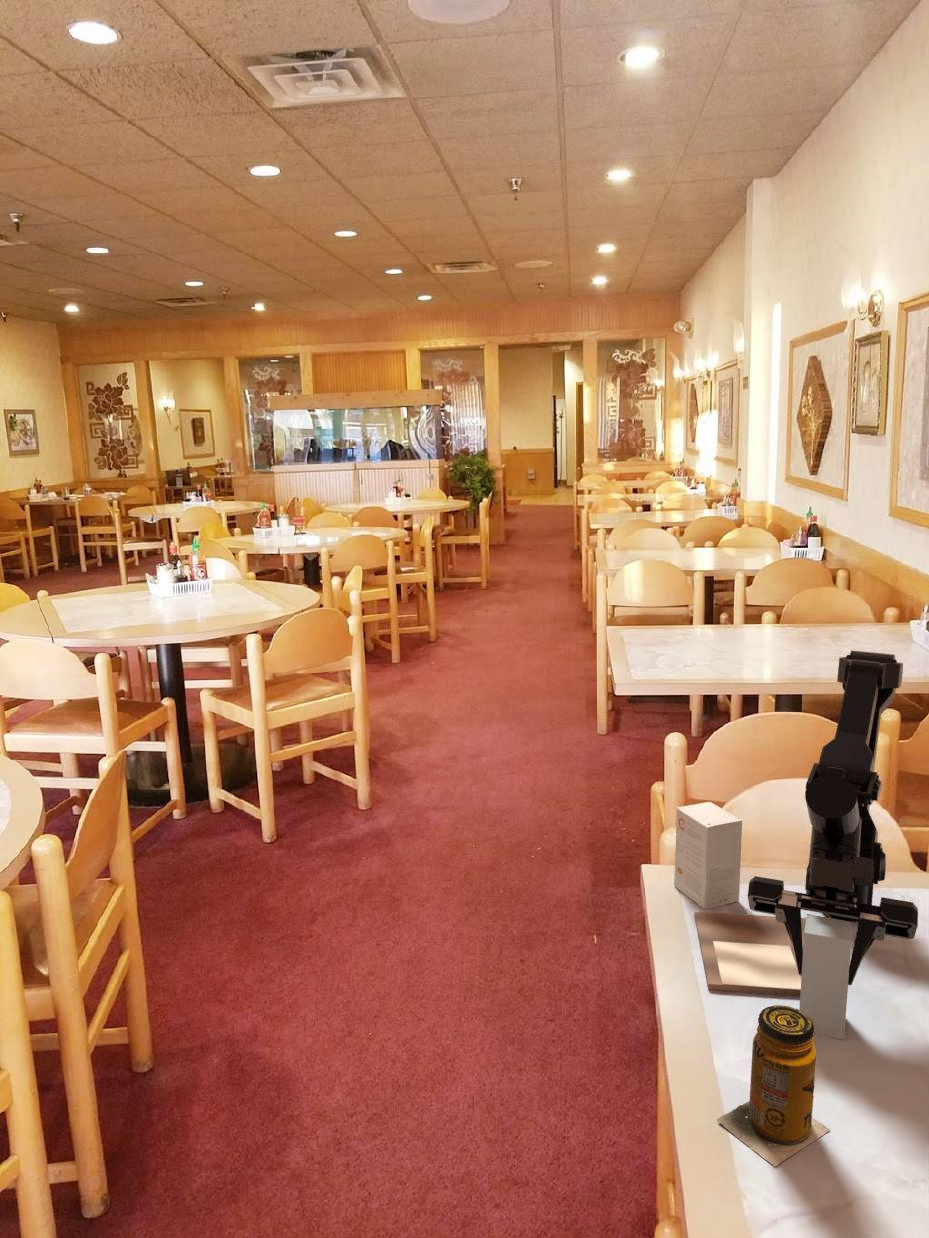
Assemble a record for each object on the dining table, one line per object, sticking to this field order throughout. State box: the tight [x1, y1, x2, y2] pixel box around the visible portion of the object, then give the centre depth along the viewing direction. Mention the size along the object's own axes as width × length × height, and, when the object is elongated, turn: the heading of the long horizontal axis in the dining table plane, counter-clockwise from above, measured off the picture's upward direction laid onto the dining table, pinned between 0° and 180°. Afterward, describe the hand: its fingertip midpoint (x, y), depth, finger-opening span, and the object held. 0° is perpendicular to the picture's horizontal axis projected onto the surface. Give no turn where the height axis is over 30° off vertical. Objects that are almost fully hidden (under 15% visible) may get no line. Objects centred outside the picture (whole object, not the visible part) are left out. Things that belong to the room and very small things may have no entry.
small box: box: [673, 801, 743, 910], centre depth 140 cm, size 8×6×13 cm
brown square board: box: [694, 911, 806, 997], centre depth 125 cm, size 18×16×1 cm
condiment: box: [716, 1004, 831, 1167], centre depth 93 cm, size 7×8×12 cm
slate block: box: [798, 913, 853, 1040], centre depth 109 cm, size 4×5×12 cm
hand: (824, 979), depth 108 cm, fingers closed on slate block, 5 cm apart
